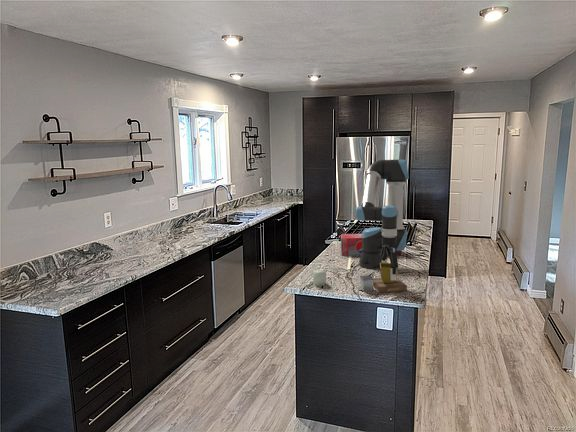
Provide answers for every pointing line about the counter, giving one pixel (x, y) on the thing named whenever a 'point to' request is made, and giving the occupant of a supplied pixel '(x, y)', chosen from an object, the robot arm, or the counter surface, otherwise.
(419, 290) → the counter surface
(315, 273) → the pale green rounded cylinder
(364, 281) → the metal tin
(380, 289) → the brown curved panel
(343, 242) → the soda box
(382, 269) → the flower pot
